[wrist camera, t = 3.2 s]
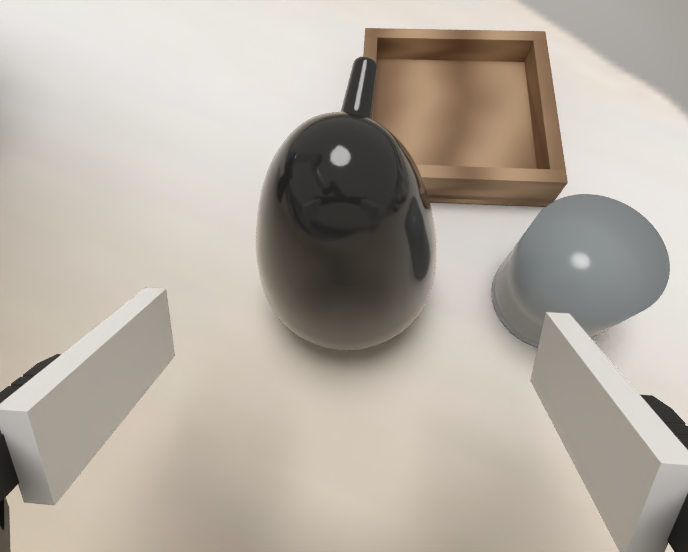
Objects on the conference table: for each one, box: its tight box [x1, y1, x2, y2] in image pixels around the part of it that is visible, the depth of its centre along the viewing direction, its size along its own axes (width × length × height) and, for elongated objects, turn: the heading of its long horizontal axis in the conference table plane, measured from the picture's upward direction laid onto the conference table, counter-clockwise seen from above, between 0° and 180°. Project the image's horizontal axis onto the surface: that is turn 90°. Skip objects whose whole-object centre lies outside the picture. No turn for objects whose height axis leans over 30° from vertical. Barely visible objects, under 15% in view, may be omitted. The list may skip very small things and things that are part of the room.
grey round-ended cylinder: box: [492, 194, 670, 347], centre depth 26 cm, size 7×7×7 cm
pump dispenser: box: [256, 57, 436, 350], centre depth 23 cm, size 10×10×15 cm
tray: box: [363, 28, 568, 207], centre depth 34 cm, size 14×14×3 cm
